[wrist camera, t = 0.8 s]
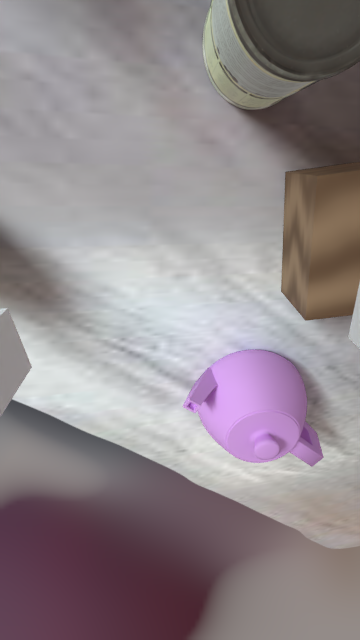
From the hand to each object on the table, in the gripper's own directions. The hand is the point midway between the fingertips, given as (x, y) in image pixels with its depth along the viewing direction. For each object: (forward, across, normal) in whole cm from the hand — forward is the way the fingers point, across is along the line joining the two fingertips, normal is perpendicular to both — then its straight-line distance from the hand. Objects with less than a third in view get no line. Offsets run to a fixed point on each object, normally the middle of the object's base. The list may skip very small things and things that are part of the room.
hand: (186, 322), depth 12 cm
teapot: (+26, +8, -26) cm, 38 cm away
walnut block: (+26, +20, -4) cm, 33 cm away
